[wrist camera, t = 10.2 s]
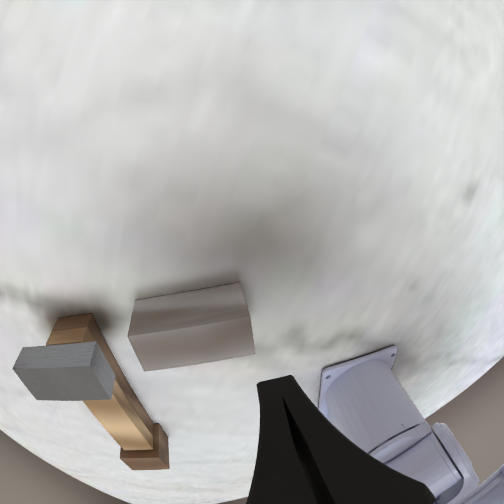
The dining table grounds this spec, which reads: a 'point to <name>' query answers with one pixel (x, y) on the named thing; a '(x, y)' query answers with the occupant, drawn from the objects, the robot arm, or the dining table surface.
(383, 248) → the dining table surface
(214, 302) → the brown grey blocky piece
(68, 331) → the arm
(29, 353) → the bar
